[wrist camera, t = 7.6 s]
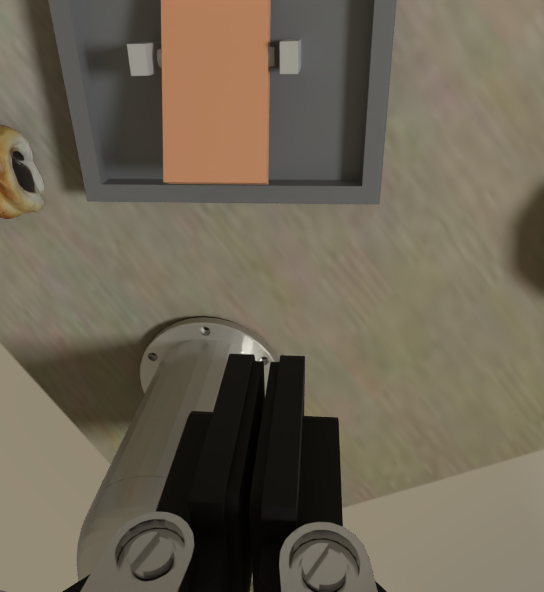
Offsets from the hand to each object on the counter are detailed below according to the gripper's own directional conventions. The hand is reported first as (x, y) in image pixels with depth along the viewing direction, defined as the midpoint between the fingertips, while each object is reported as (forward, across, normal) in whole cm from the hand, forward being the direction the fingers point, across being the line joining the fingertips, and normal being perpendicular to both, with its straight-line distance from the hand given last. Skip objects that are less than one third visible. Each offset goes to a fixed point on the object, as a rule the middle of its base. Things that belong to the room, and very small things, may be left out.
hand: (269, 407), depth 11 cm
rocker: (+23, +5, -6) cm, 24 cm away
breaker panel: (+27, +5, -6) cm, 28 cm away
